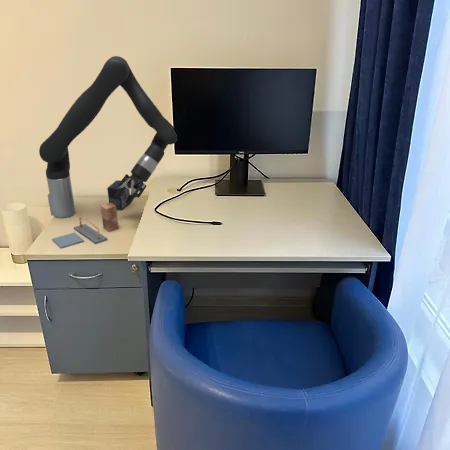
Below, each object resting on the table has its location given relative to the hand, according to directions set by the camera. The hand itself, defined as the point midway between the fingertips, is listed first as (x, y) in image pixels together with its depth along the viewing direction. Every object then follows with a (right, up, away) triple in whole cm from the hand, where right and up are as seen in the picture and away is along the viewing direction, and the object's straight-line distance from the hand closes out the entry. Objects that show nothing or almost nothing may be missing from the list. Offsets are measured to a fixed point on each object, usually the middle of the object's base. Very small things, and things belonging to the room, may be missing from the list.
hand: (121, 200), depth 174 cm
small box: (-6, -1, +24) cm, 24 cm away
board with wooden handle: (-11, -14, -4) cm, 18 cm away
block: (-5, -11, +1) cm, 12 cm away
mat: (-18, -16, -9) cm, 26 cm away
